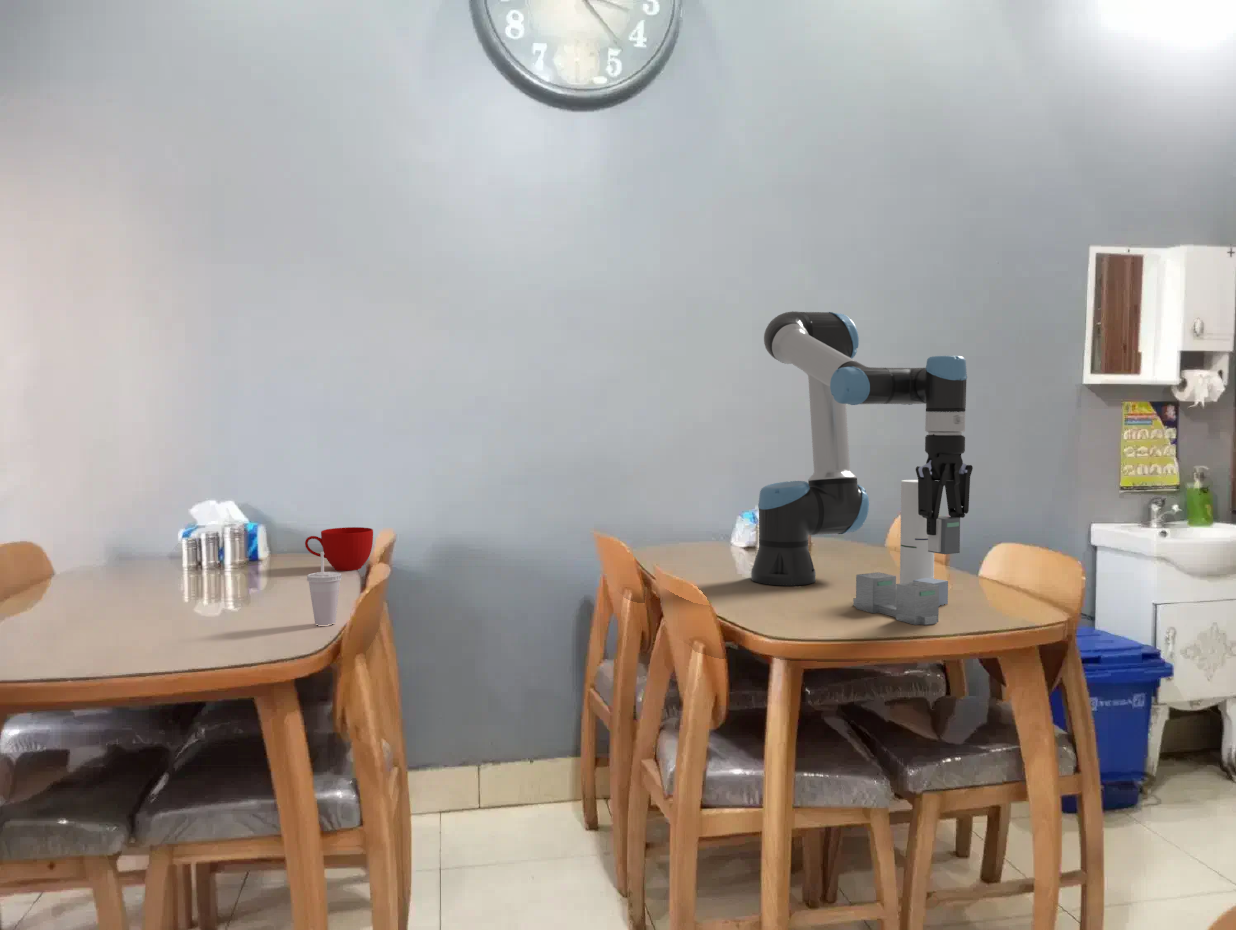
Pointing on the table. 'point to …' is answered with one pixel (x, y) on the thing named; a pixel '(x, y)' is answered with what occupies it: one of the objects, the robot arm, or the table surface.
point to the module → (949, 535)
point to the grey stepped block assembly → (897, 598)
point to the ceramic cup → (345, 547)
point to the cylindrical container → (913, 537)
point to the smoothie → (324, 594)
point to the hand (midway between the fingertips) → (942, 550)
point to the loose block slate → (942, 588)
